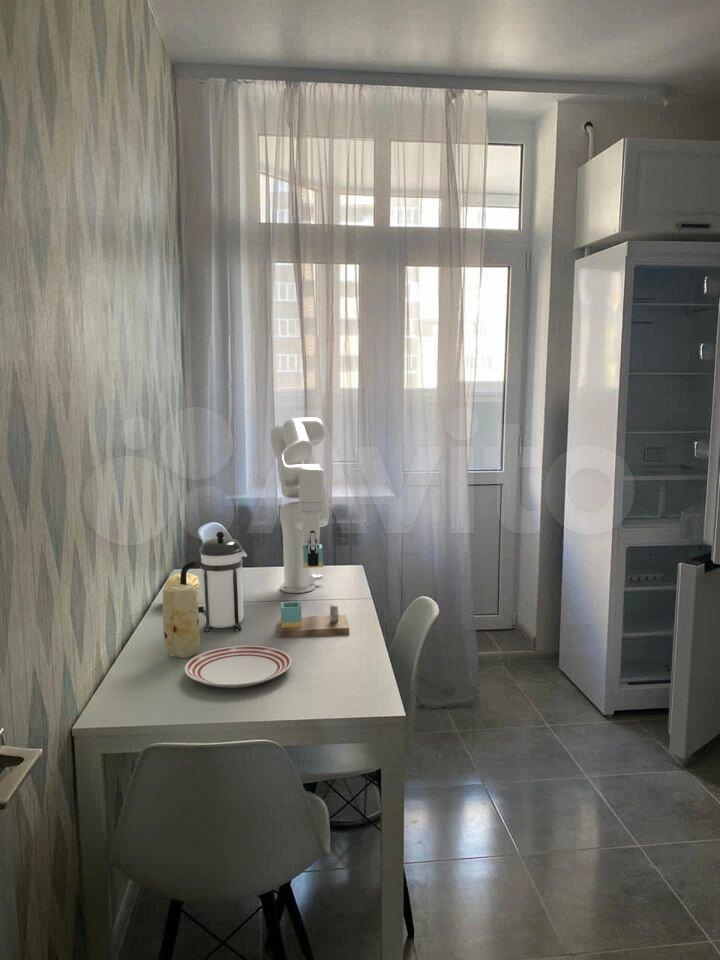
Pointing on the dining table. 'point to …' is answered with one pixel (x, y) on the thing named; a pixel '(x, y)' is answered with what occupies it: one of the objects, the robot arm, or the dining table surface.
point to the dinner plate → (238, 666)
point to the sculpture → (190, 579)
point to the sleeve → (305, 556)
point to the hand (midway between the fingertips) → (312, 562)
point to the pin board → (317, 625)
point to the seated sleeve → (291, 614)
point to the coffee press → (220, 582)
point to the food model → (181, 620)
